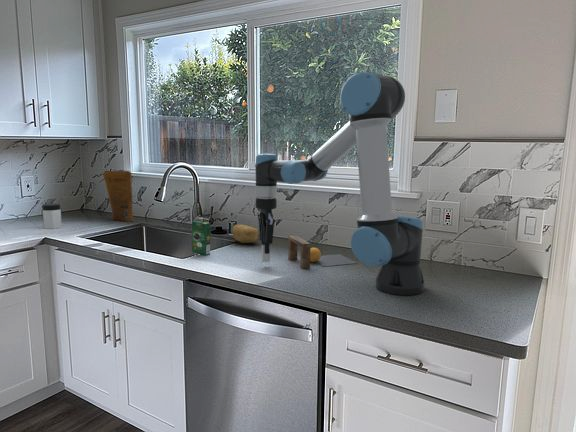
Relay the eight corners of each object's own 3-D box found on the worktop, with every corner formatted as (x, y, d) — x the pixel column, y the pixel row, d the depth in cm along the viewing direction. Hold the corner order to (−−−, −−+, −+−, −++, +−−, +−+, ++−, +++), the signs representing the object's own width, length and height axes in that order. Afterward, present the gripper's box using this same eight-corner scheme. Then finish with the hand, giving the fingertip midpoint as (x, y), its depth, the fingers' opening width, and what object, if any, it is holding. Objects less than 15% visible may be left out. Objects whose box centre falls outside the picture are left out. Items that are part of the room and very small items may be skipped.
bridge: (295, 258, 175) (295, 235, 174) (310, 268, 162) (310, 243, 160) (288, 258, 174) (288, 235, 172) (302, 269, 161) (302, 244, 159)
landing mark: (357, 263, 169) (357, 263, 169) (323, 266, 164) (323, 266, 164) (340, 254, 182) (340, 254, 182) (308, 257, 177) (308, 256, 177)
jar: (55, 225, 235) (53, 202, 233) (65, 226, 231) (64, 203, 229) (39, 228, 227) (37, 204, 225) (49, 229, 223) (47, 206, 221)
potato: (248, 247, 192) (248, 229, 191) (227, 242, 201) (226, 224, 200) (264, 243, 199) (264, 226, 198) (242, 238, 208) (242, 222, 207)
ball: (312, 265, 167) (325, 260, 169) (308, 252, 166) (321, 246, 168) (306, 262, 172) (318, 256, 174) (302, 249, 171) (314, 244, 173)
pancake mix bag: (129, 222, 244) (126, 171, 240) (104, 219, 253) (101, 170, 248) (138, 220, 250) (136, 170, 246) (113, 217, 259) (111, 169, 254)
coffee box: (211, 254, 180) (210, 222, 177) (206, 255, 177) (205, 223, 175) (196, 251, 184) (196, 220, 182) (191, 252, 182) (191, 221, 179)
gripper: (282, 199, 154) (281, 265, 158) (270, 194, 166) (270, 256, 170) (261, 200, 152) (261, 267, 156) (250, 195, 164) (251, 257, 168)
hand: (265, 261), depth 163 cm, fingers closed
